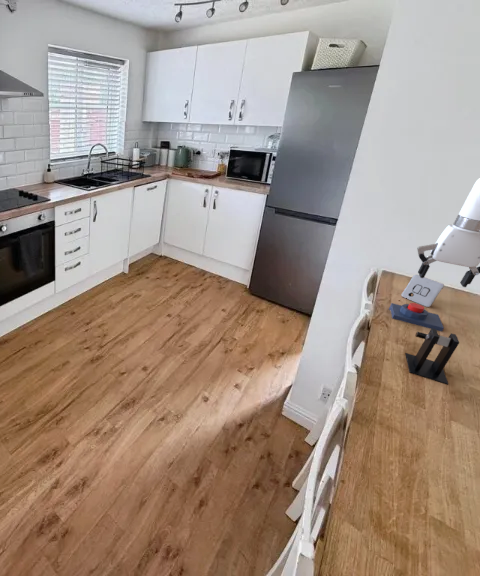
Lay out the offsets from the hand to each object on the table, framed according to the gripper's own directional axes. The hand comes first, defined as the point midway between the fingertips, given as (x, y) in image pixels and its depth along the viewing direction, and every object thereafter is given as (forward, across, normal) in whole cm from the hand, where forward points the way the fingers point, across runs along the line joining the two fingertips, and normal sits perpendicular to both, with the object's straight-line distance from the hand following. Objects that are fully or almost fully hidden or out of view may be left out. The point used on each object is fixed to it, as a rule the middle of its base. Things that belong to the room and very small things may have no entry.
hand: (441, 280), depth 107 cm
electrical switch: (+19, -5, -29) cm, 35 cm away
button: (+15, -1, -10) cm, 18 cm away
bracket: (+19, 0, +22) cm, 29 cm away
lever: (+12, 0, +17) cm, 21 cm away
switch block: (+19, -2, -10) cm, 21 cm away
